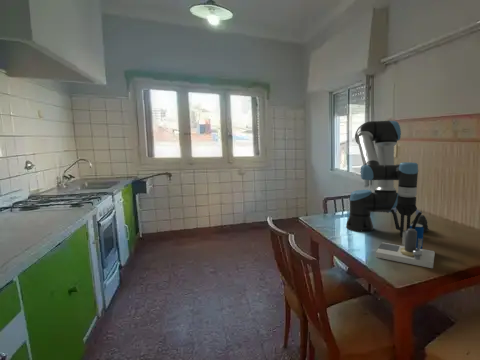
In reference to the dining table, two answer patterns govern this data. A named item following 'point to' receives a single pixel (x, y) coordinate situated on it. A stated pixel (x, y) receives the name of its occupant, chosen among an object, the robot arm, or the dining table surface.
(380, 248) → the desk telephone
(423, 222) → the rock
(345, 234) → the dining table surface
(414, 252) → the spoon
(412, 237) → the grey post on base
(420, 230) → the beverage can
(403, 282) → the dining table surface
